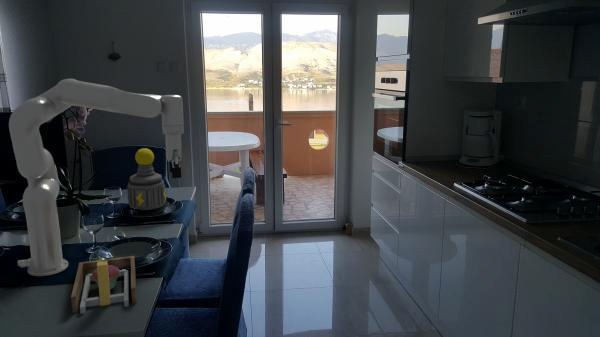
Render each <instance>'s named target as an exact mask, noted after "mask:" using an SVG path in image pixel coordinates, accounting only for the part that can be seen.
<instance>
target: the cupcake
mask: <svg viewBox="0 0 600 337" xmlns="http://www.w3.org/2000/svg"><path fill="white" fill-rule="evenodd" d="M97 256H98V260H99V262H102V261H101V260H102V258H101V256H100V254H98V255H97ZM119 270H120V269H119V268H118V267H116V266H113V265H108V272H109V284H110V290H112V289H114V288H115V287H116V283H117V280H118V279H119V278H118V277H119V276H120V271H119ZM92 279H93V281H92V282H95V283H96V284H97V286H98V288H99V284H98V273H97V269H95V271H94V272H93V273H92Z"/></svg>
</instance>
